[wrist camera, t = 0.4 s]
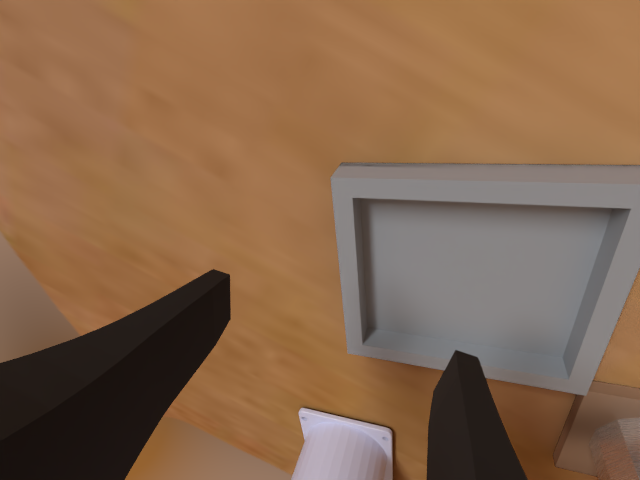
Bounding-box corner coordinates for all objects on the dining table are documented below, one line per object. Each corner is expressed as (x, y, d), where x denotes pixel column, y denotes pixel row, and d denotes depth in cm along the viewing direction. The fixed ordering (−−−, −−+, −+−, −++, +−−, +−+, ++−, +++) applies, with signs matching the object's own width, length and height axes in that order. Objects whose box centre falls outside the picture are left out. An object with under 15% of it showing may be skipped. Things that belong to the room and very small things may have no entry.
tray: (577, 365, 21) (585, 395, 20) (355, 330, 25) (347, 353, 24) (651, 165, 15) (673, 185, 13) (341, 162, 19) (330, 177, 18)
